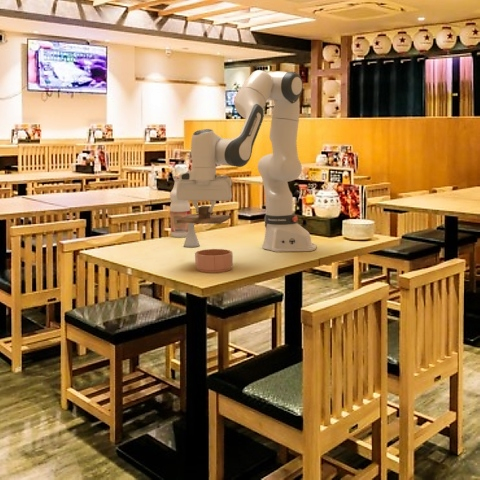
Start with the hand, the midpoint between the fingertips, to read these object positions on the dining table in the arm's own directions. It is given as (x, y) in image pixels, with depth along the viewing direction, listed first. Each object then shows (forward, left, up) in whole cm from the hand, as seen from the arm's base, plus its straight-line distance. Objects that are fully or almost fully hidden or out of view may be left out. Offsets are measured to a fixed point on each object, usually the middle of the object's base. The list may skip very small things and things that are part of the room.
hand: (204, 212), depth 239 cm
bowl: (-5, +6, -20) cm, 21 cm away
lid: (0, 0, -3) cm, 3 cm away
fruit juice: (+27, -62, -20) cm, 71 cm away
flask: (+15, -37, -20) cm, 45 cm away
